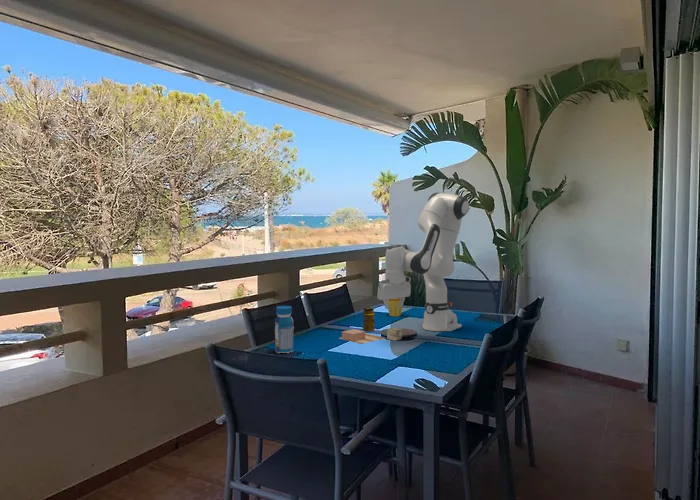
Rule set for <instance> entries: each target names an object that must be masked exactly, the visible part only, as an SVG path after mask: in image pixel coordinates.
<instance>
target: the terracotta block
mask: <svg viewBox="0 0 700 500" xmlns="http://www.w3.org/2000/svg"><path fill="white" fill-rule="evenodd" d="M365 333H366V331H364V330H359V329H355V328H353V329H348V330H343V331H341V338H342V339H341V340H343V339H345V340H344V341H347V340H349V341H348V342H351V341H358V340H362V339H365Z"/></svg>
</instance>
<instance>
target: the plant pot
mask: <svg viewBox="0 0 700 500" xmlns="http://www.w3.org/2000/svg"><path fill="white" fill-rule="evenodd" d="M399 302H400V298H395V299H388V305H390V308H389V309H387V310H388V315H389V316H390V317H401V315H402V310H403V306H402V307H399V306H398V305H399V304H398V303H399Z"/></svg>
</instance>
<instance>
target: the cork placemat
mask: <svg viewBox="0 0 700 500" xmlns="http://www.w3.org/2000/svg"><path fill="white" fill-rule="evenodd" d="M339 339H340V340H343V341H348V342H352V343H355V344H359V345H363V344H366V343H367V344H368V343H370V342H372V343H373V342H375V341H380V340H383V339H386V337H384V336H379V335H376V334H371V333H367V332H365V339H362V340H358V341H349V340H345V339H342V337H339Z"/></svg>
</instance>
